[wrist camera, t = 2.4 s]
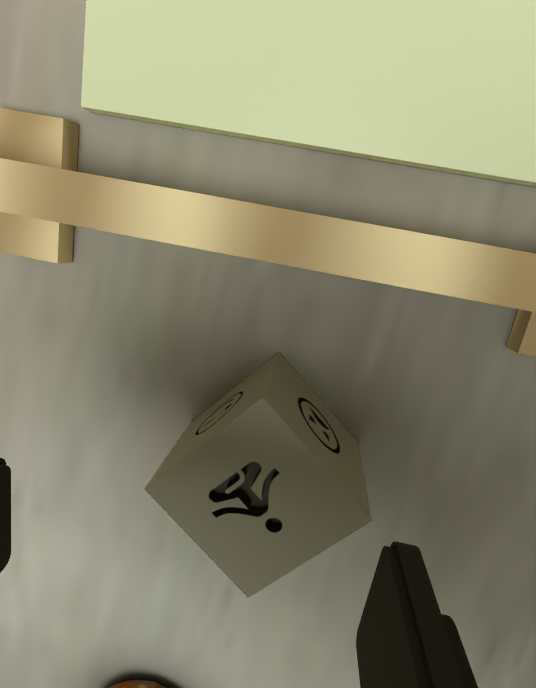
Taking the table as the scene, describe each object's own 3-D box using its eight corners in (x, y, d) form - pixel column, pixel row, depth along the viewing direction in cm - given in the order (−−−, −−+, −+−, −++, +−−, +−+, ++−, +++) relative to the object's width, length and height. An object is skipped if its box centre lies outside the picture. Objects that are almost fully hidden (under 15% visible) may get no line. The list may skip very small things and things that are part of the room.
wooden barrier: (661, 224, 14) (786, 221, 10) (603, 364, 16) (695, 408, 12) (-10, 110, 16) (-115, 71, 12) (-10, 245, 17) (-104, 249, 13)
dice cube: (279, 351, 17) (262, 397, 12) (358, 442, 18) (371, 520, 13) (190, 422, 18) (144, 489, 14) (266, 504, 19) (247, 597, 14)
